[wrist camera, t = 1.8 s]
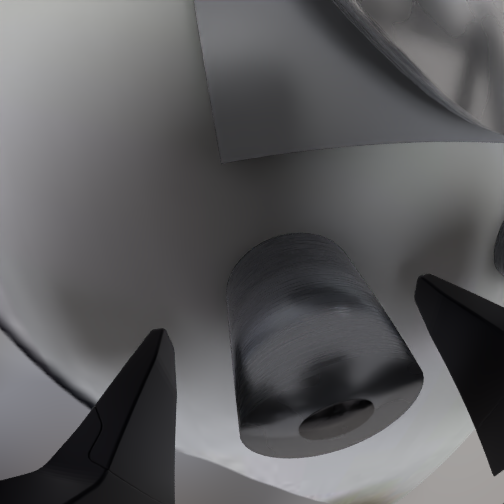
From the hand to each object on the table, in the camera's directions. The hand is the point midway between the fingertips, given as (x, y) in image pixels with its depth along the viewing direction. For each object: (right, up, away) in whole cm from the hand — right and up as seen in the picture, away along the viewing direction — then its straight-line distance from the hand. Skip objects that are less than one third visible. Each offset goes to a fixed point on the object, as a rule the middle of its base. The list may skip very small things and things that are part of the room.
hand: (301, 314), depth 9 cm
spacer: (0, +1, +1) cm, 1 cm away
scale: (+4, +13, -6) cm, 15 cm away
